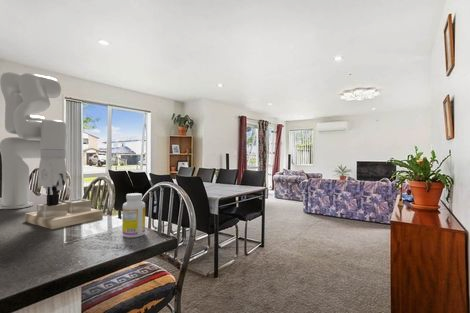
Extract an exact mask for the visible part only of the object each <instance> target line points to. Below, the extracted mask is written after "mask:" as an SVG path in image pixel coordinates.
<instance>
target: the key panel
mask: <svg viewBox="0 0 470 313" xmlns="http://www.w3.org/2000/svg"><path fill="white" fill-rule="evenodd" d="M79 200H80V202H72V201H79ZM46 205H47V202H46V203H42V204H41V203H40V204H36V211H34V212H33V211H32V212H26V213H25V214H24V220H25V221H24V222H25V223H29V224H32V225H36V226H39V227H42V228H46V229H49V230H54V229H55V230H56V229H60V228H65V227H70V226H74V225H78V224H83V223H87V222H92V221H96V220H100V219H104V218H103V216H104V215H103V214H104V211H103V210H101V209H98V208H97V209H95V208H92V199H86V198H77V199H70V200H69V199H67V200H63V202H62V201H61V202H60V201H59V205H53V206H46Z"/></svg>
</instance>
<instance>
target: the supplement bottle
mask: <svg viewBox="0 0 470 313" xmlns="http://www.w3.org/2000/svg"><path fill="white" fill-rule="evenodd" d="M125 199H126V202H124V203H123V204H122V231H121V232H122V233H121V234H122V236H123V237H124V238H128V239H132V238H133V239H134V238H139V237H142V236H144V235H145V234H146V203H145V202H144V201H142V199H143V194H142V193H139V192H134V193H133V192H132V193H127V194H126V196H125Z"/></svg>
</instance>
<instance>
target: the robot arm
mask: <svg viewBox="0 0 470 313" xmlns="http://www.w3.org/2000/svg"><path fill="white" fill-rule="evenodd" d="M0 90H1V93H2V96H3V98H4V101H5V102H4V103H5V104H4V105H5V107H4V109H5V111H4V127H5V128H4V129H5V130H6V132H7V133H9V134H11V135H17V136H15V137H14V136H11V137H6V138H3V139H2V140H0V156H1V157H0V158H1V203H0V210H16V209H17V210H18V209H22V208H23V209H24V208H28V207H32V206H34V202H32V201H30V166H29V165H28V164H27V162H25V161H24V160H23V159H40V161H39V166H38V176H37V177H38V178H37V179H38V180H37V184H38V185H39V186H40V187H41V186H42V187H43V189H45V194H46V203H47V206H53V205H58V204H59V202H60V199H59V198H60V197H59V196H60V193H61V191H62V190H64V186H65V185H66V184H67V164H66V158H67V157H66V156H67V124H66V122H65V121H63V120H58V119H47V118H45V117H44V116H41V115H34V114H37V113H38V114H39V113H41V112H45V111H47V110H48V109H49V108H50V106H51V102H50V99H55V98H58V97H60V95H61V92H62V87H61V84H60V82H59V81H58V79H56V78H54V77H51V76H45V75H43V74H38V73H37V74H36V73H31V72H30V73H29V72H27V73H19V72H12V71H10V72H9V71H7V72H6V71H5V72H3V73H2V74H1V75H0Z"/></svg>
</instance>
